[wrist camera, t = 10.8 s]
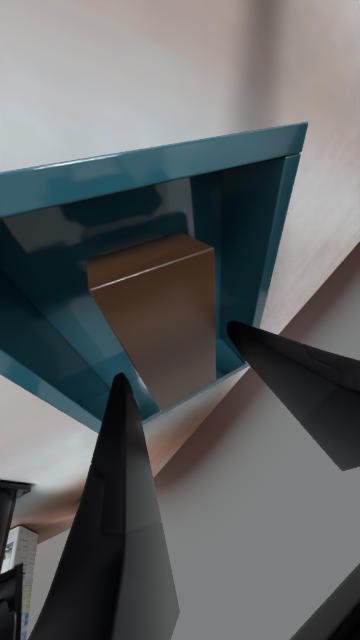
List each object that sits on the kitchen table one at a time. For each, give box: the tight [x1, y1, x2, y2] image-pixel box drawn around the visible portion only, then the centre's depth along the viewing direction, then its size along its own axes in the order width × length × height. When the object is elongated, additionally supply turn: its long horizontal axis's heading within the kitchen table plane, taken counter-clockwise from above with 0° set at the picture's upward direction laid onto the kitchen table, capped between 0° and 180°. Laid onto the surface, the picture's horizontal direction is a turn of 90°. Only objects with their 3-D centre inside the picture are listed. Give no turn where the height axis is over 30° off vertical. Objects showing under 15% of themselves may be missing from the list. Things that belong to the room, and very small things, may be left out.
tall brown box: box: [86, 232, 216, 412], centre depth 11 cm, size 10×4×5 cm, turn 9°
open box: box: [0, 122, 308, 434], centre depth 11 cm, size 16×14×5 cm
